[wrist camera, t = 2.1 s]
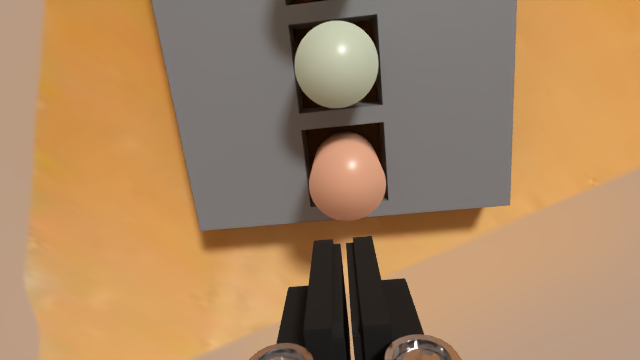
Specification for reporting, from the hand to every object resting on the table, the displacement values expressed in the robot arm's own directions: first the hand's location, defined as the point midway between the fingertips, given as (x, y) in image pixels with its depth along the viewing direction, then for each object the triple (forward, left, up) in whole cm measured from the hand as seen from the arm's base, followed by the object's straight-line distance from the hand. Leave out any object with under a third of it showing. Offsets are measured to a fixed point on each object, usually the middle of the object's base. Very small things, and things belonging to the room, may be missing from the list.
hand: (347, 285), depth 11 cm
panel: (0, -6, -16) cm, 17 cm away
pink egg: (0, 0, -14) cm, 14 cm away
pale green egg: (0, -6, -14) cm, 16 cm away
